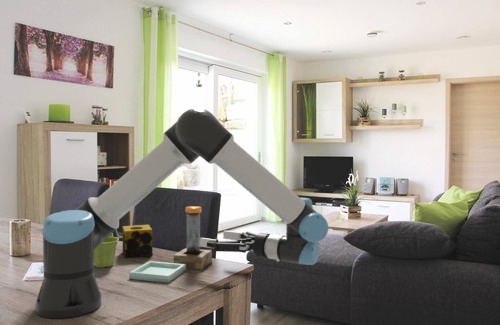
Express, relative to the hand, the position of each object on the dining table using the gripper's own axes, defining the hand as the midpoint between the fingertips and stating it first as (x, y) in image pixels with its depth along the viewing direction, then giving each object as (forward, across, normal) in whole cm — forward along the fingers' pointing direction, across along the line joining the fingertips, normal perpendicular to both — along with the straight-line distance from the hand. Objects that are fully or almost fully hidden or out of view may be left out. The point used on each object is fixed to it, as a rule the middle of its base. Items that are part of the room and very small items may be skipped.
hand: (212, 238), depth 144 cm
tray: (+10, -15, -10) cm, 21 cm away
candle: (+34, 0, -10) cm, 35 cm away
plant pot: (+32, -17, -10) cm, 38 cm away
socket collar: (+8, 0, -10) cm, 13 cm away
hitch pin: (+8, 0, -10) cm, 13 cm away
